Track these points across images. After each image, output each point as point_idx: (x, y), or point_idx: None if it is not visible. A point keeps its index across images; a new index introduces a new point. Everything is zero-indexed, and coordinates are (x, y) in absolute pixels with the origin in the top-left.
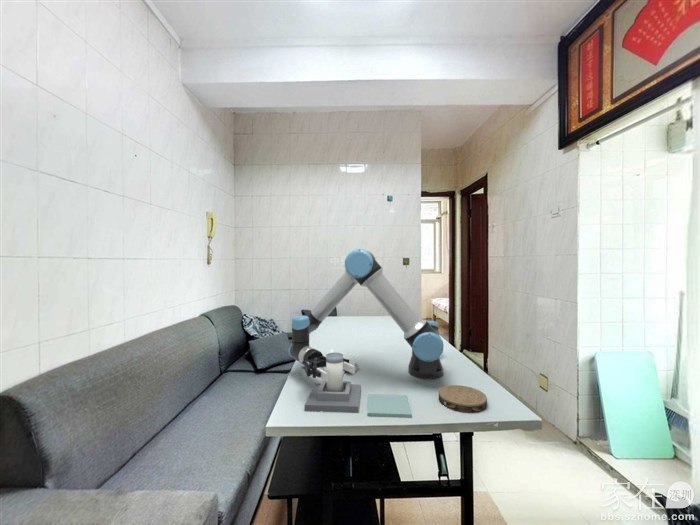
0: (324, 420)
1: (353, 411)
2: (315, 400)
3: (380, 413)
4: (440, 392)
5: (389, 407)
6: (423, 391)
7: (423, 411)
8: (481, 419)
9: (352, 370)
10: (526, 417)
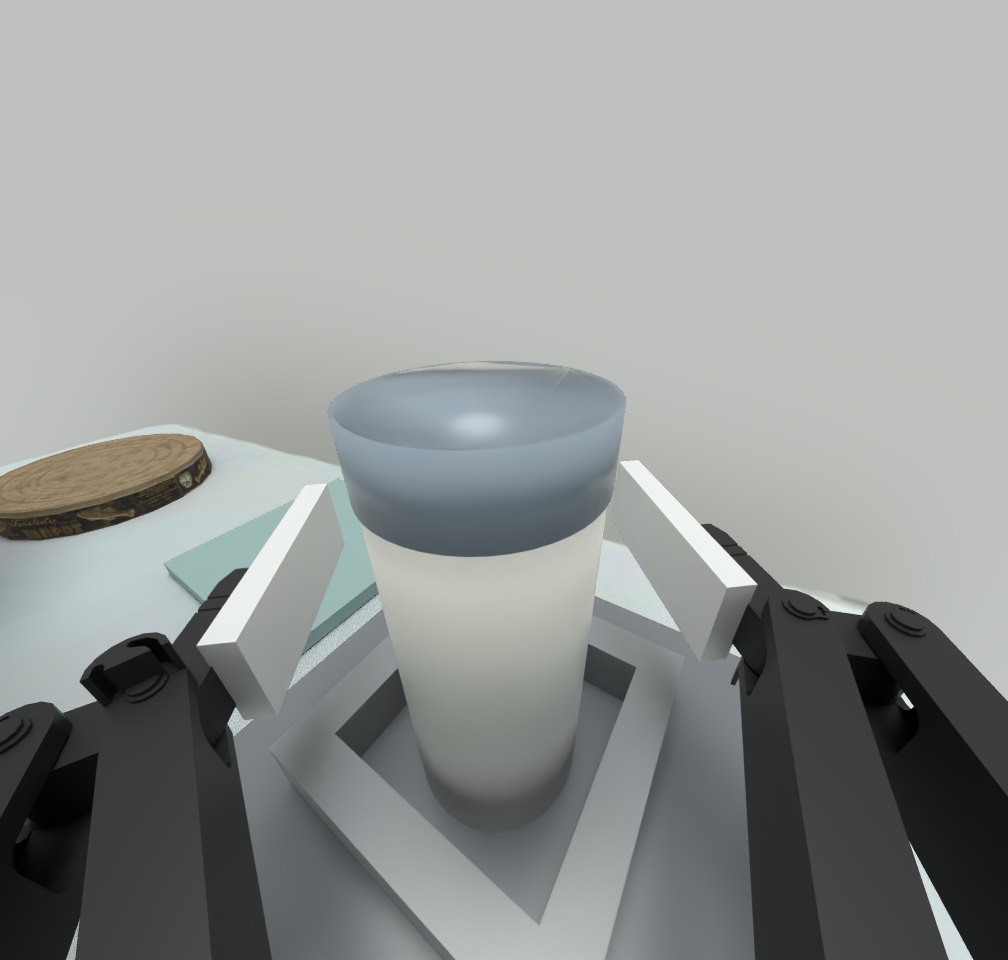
0: (632, 570)
1: None
2: (684, 699)
3: None
4: (112, 491)
5: (346, 521)
6: (26, 589)
7: (273, 495)
8: (230, 443)
9: (334, 525)
10: (163, 427)
